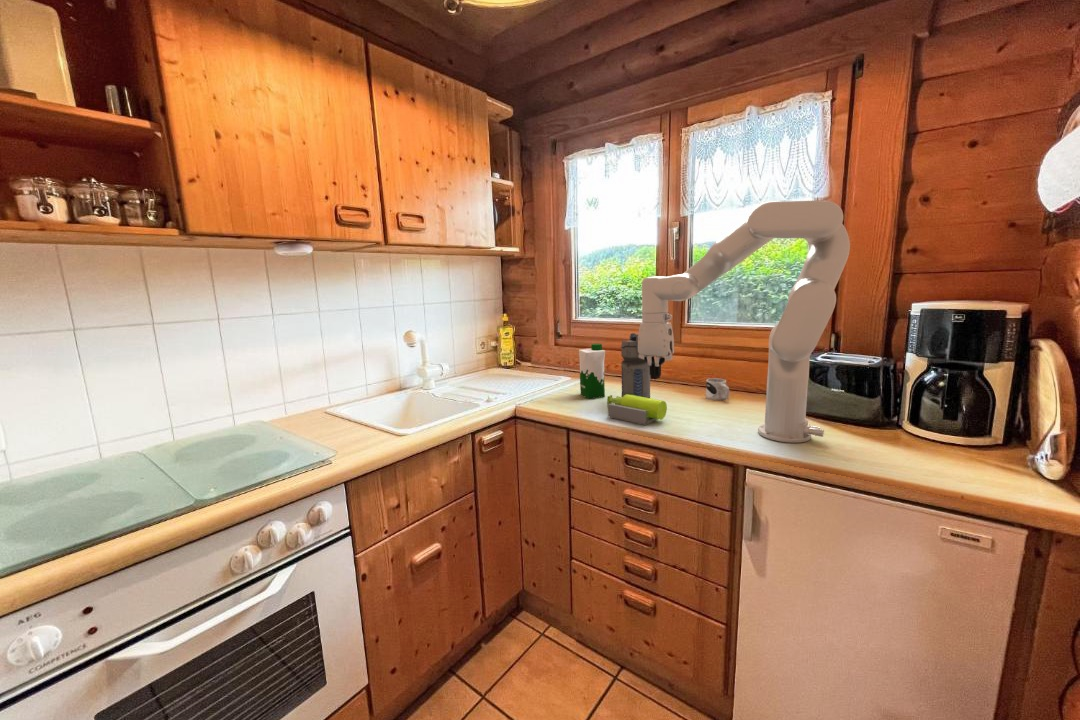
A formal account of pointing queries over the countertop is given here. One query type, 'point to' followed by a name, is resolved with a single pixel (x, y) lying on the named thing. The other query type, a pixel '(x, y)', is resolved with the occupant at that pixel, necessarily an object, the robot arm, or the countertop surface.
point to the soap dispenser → (641, 404)
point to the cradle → (629, 414)
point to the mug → (716, 389)
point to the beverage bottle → (634, 370)
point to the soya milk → (592, 372)
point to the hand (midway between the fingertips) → (655, 378)
